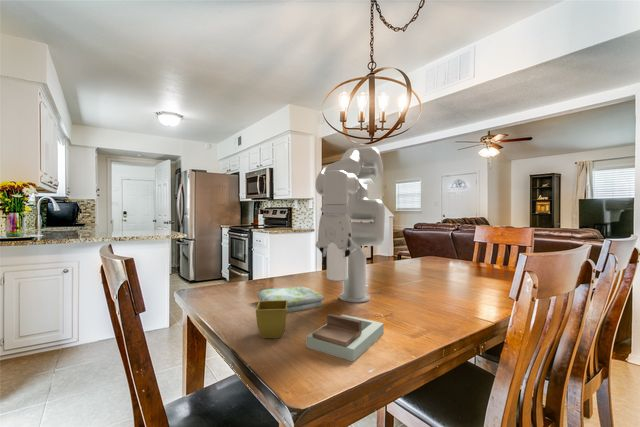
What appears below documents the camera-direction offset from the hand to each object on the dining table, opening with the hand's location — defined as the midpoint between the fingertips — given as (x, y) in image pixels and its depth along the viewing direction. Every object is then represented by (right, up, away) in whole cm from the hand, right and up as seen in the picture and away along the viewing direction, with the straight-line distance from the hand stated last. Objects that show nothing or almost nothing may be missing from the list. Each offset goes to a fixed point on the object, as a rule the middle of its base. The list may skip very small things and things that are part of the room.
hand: (335, 269), depth 93 cm
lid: (0, -15, -13) cm, 20 cm away
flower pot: (-19, -19, -4) cm, 27 cm away
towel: (-16, -19, +25) cm, 35 cm away
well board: (+3, -19, -8) cm, 20 cm away
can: (+1, -3, 0) cm, 3 cm away
